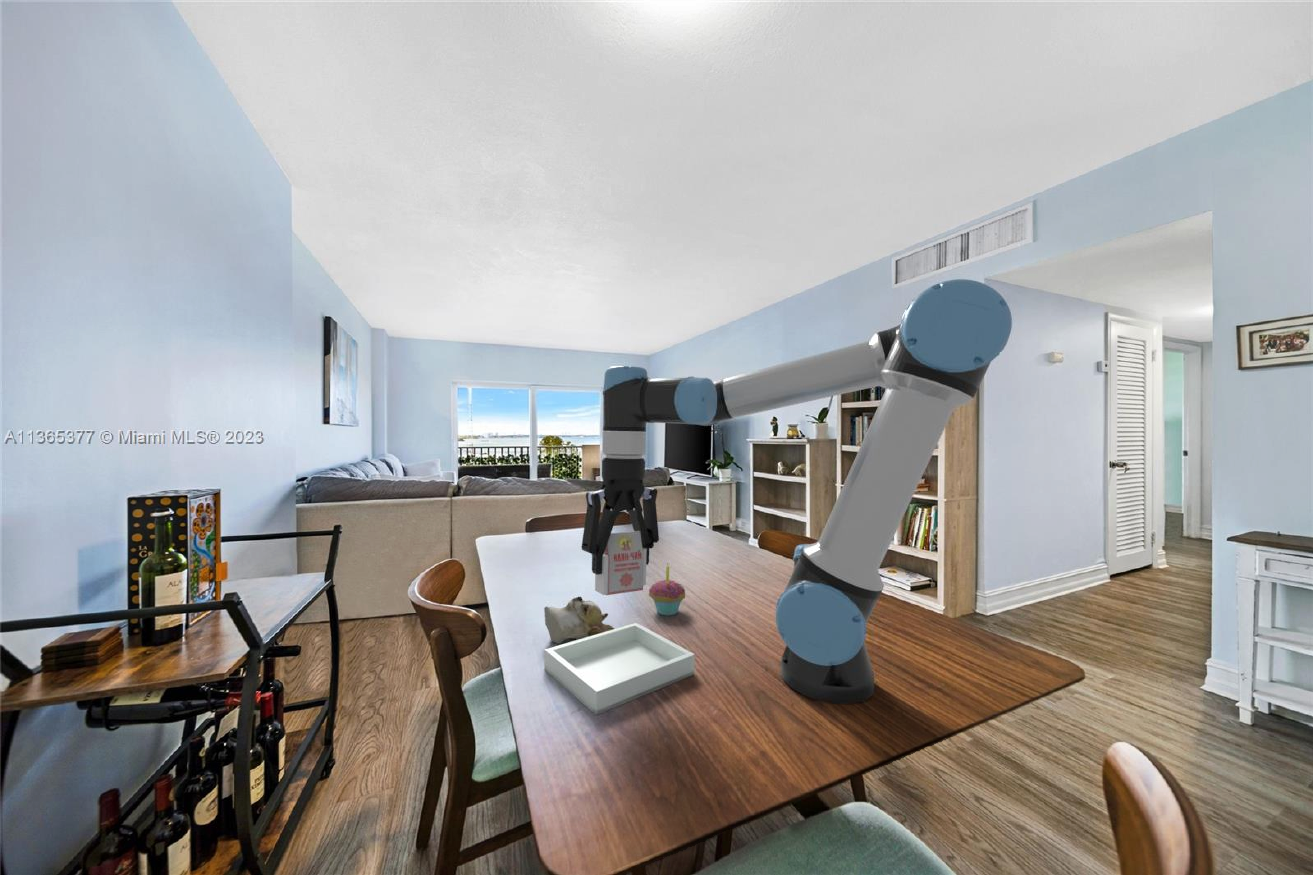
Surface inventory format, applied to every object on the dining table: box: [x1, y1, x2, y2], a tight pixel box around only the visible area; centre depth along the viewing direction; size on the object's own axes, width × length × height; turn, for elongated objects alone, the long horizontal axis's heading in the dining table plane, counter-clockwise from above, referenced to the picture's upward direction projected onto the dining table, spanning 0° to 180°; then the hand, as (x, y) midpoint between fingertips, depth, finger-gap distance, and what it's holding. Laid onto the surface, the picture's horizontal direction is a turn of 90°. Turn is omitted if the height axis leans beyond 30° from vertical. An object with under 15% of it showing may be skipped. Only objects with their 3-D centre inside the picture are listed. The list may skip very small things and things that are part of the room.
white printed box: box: [604, 530, 644, 596], centre depth 84 cm, size 4×7×10 cm, turn 116°
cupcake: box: [648, 562, 686, 616], centre depth 113 cm, size 9×8×12 cm
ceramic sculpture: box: [543, 596, 615, 645], centre depth 98 cm, size 11×9×15 cm
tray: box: [543, 622, 696, 716], centre depth 84 cm, size 17×20×4 cm
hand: (620, 587), depth 84 cm, fingers closed on white printed box, 7 cm apart
